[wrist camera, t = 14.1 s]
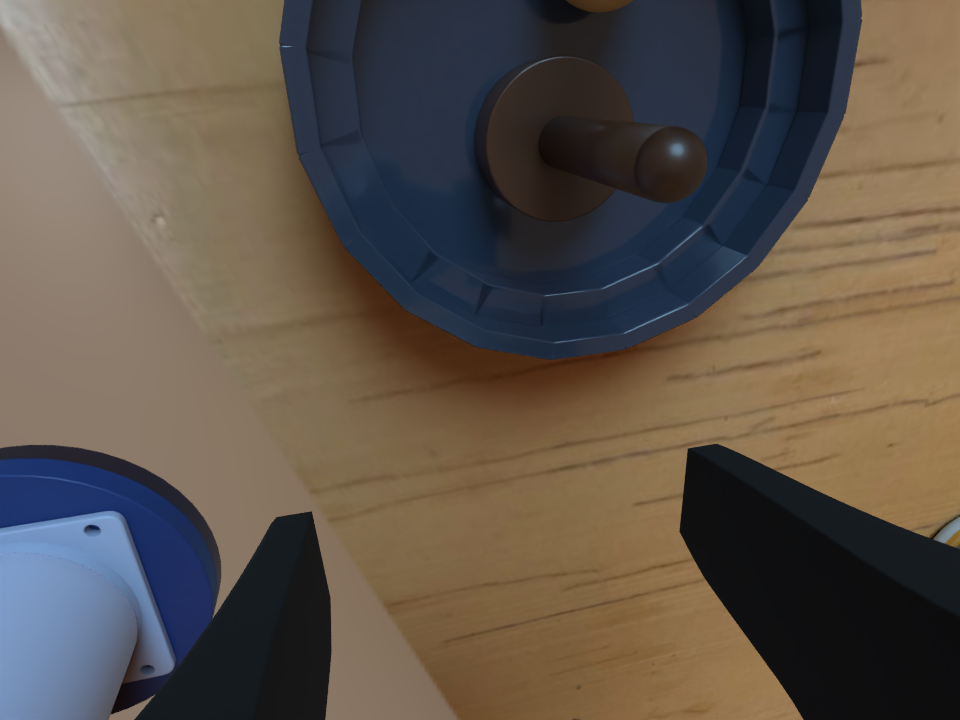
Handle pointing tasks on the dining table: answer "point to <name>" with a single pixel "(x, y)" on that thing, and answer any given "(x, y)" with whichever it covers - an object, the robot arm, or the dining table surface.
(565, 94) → the joystick
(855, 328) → the dining table surface
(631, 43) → the serving tray
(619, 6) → the ball
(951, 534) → the pill bottle
